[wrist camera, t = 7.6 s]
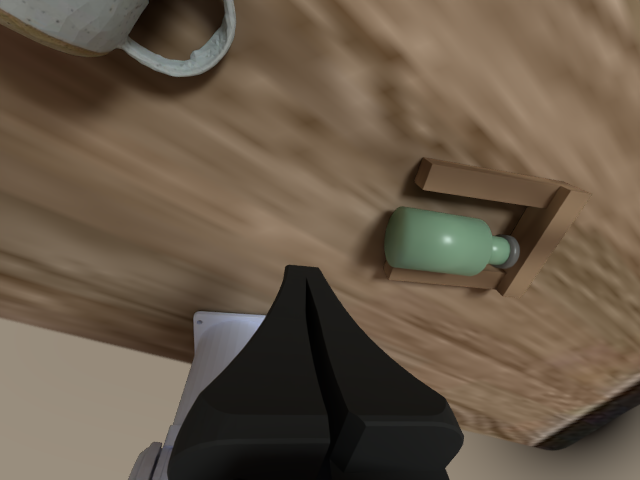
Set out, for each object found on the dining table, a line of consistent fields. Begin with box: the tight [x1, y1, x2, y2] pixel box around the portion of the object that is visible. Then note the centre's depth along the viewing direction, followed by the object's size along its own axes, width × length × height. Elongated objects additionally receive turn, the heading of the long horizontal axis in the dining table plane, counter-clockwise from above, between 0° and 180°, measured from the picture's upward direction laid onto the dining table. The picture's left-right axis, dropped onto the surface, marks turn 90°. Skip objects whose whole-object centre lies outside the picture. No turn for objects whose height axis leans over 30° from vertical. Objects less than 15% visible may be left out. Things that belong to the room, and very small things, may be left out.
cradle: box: [383, 157, 592, 298], centre depth 23 cm, size 10×12×2 cm
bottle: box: [384, 207, 520, 276], centre depth 22 cm, size 4×4×9 cm
